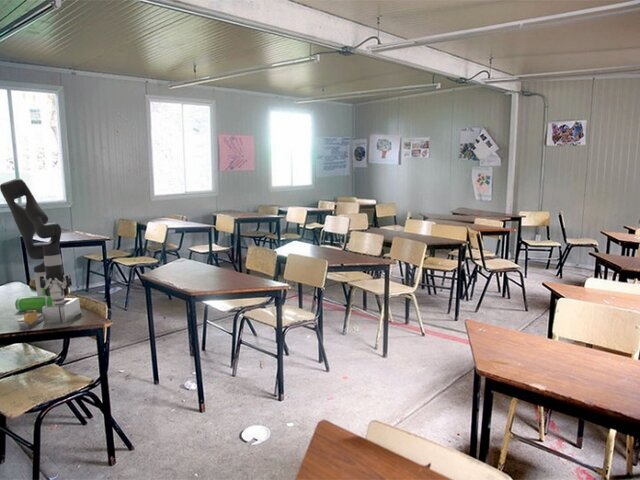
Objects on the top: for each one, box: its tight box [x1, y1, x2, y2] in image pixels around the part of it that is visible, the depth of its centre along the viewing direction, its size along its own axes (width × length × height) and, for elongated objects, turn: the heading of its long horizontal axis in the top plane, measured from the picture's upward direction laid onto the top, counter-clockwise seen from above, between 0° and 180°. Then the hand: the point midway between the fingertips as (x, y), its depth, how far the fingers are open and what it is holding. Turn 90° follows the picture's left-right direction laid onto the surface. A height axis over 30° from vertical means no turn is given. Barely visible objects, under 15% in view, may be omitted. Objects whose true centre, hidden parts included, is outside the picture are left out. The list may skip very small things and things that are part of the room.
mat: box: [16, 312, 43, 323], centre depth 240 cm, size 10×8×1 cm
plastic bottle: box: [49, 280, 65, 305], centre depth 236 cm, size 6×7×20 cm
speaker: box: [14, 295, 52, 312], centre depth 253 cm, size 18×7×8 cm, turn 95°
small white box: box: [18, 297, 82, 330], centre depth 233 cm, size 23×18×8 cm
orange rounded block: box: [22, 310, 38, 325], centre depth 228 cm, size 8×3×7 cm, turn 1°
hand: (57, 295), depth 236 cm, fingers open, 8 cm apart
